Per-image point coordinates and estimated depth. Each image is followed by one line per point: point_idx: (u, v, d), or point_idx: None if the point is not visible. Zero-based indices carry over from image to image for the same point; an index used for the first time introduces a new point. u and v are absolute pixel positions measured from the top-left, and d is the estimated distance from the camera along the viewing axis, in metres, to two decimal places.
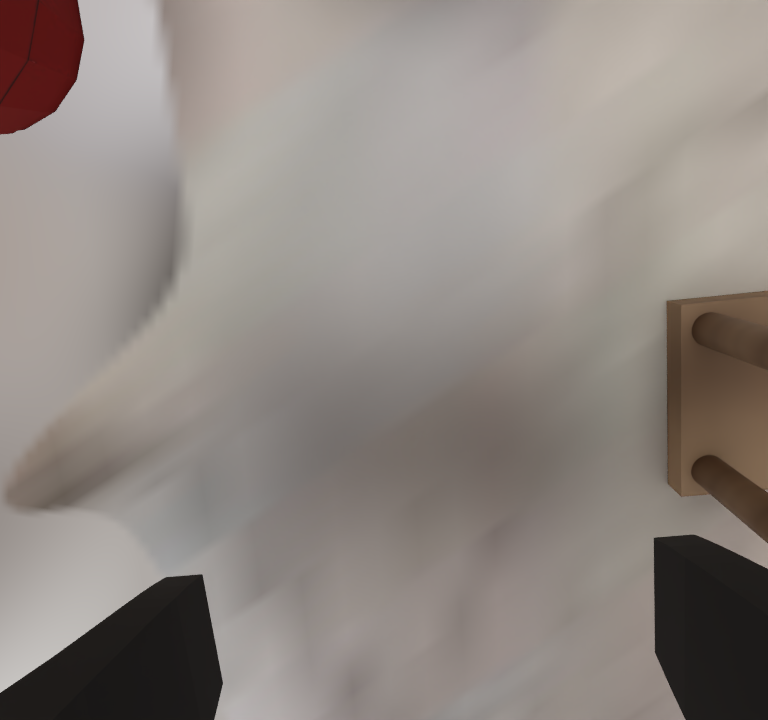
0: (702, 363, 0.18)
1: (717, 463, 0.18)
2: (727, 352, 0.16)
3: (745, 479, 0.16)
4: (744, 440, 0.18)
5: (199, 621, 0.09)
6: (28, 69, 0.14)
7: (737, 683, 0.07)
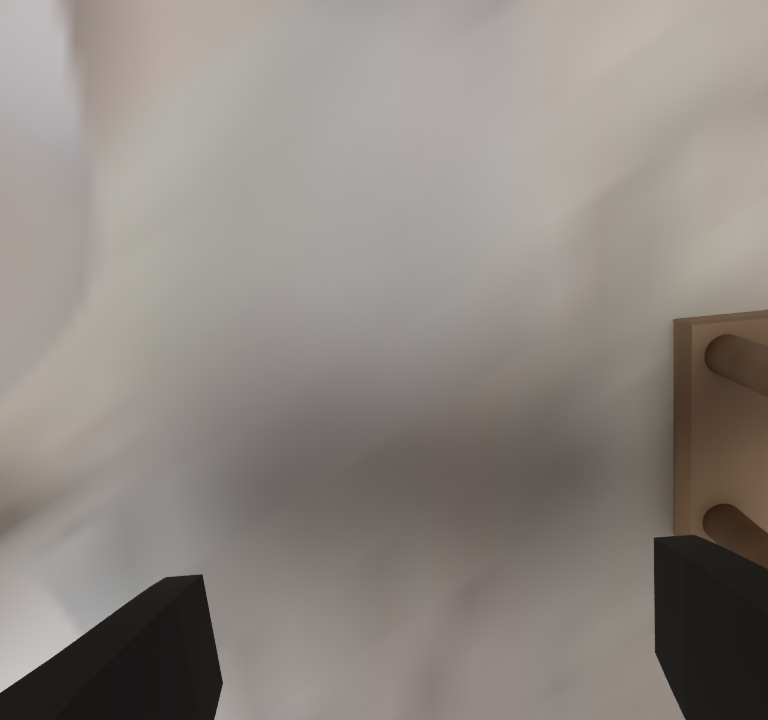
0: (717, 395, 0.15)
1: (734, 516, 0.15)
2: (750, 386, 0.13)
3: None
4: (766, 486, 0.15)
5: (200, 621, 0.09)
6: None
7: (737, 683, 0.07)
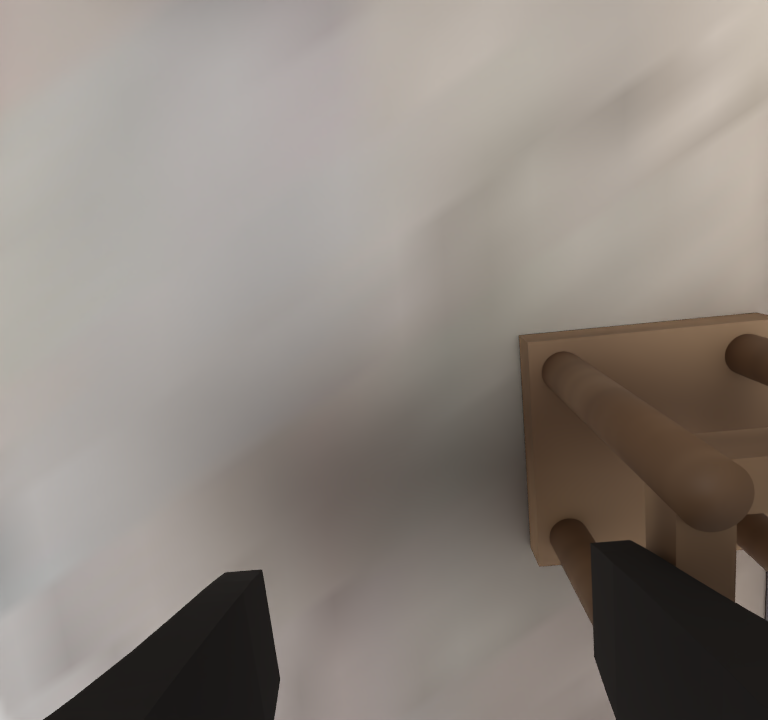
0: (556, 411, 0.15)
1: (573, 531, 0.15)
2: (567, 405, 0.13)
3: None
4: (609, 501, 0.15)
5: (260, 617, 0.09)
6: None
7: (656, 688, 0.07)
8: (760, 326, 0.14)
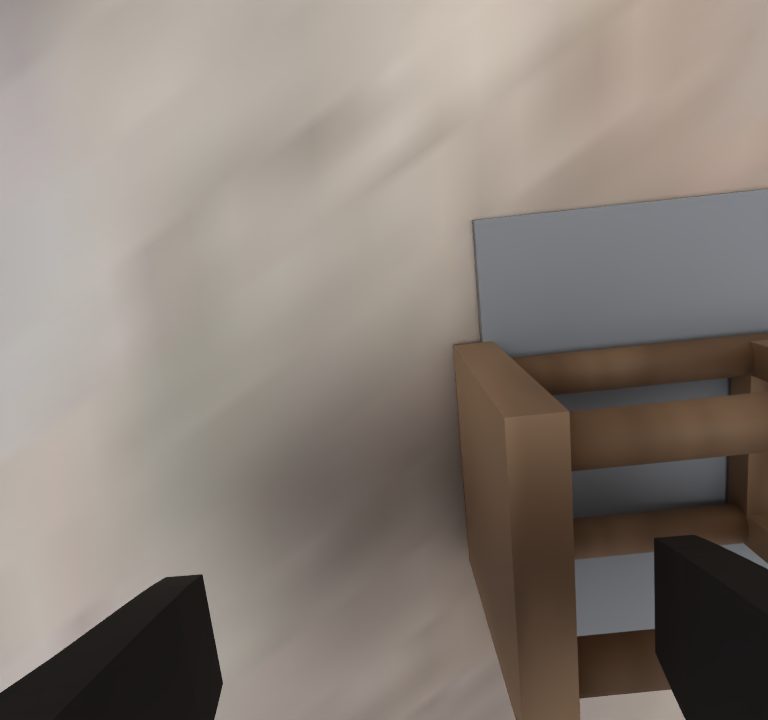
0: None
1: (599, 642, 0.11)
2: (672, 457, 0.10)
3: None
4: None
5: (199, 622, 0.09)
6: None
7: (737, 683, 0.07)
8: None
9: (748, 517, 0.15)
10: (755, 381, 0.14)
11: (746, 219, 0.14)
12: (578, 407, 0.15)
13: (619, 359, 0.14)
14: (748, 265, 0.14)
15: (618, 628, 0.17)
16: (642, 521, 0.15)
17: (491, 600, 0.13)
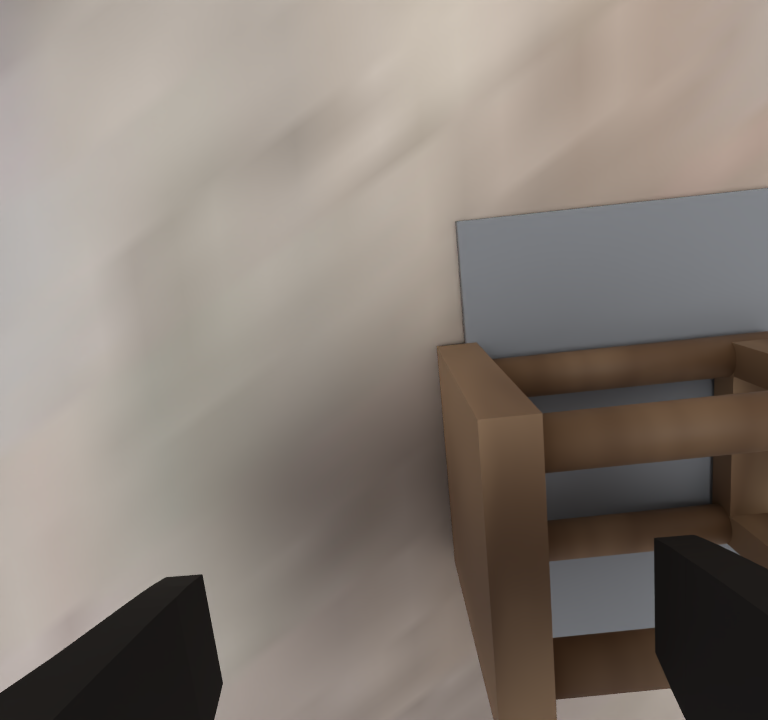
0: None
1: (577, 644, 0.11)
2: (646, 458, 0.10)
3: (636, 632, 0.11)
4: None
5: (199, 621, 0.09)
6: None
7: (737, 683, 0.07)
8: None
9: (732, 518, 0.15)
10: (737, 382, 0.14)
11: (728, 220, 0.14)
12: (562, 408, 0.15)
13: (601, 360, 0.14)
14: (731, 266, 0.14)
15: (604, 629, 0.17)
16: (626, 522, 0.15)
17: (472, 601, 0.13)
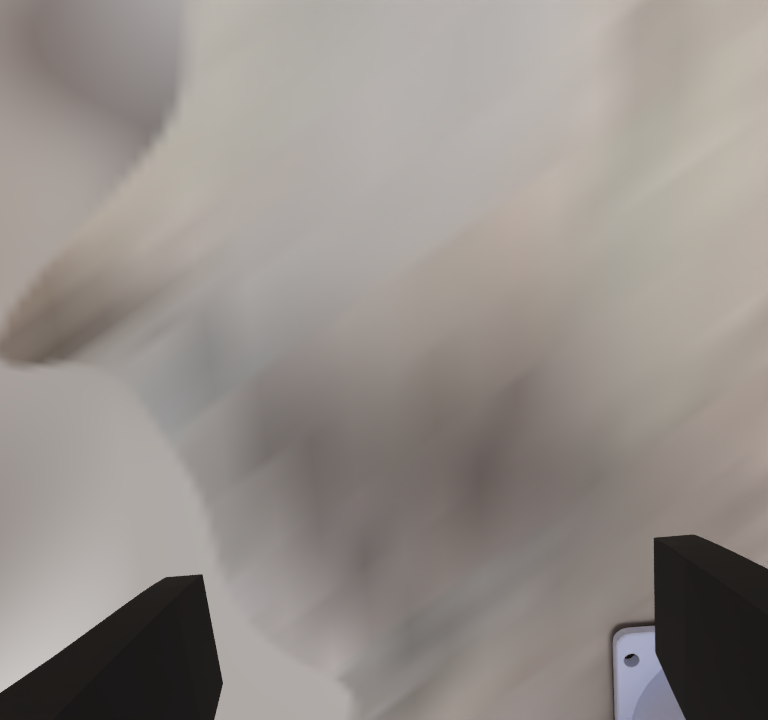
0: None
1: None
2: None
3: None
4: None
5: (199, 622, 0.09)
6: None
7: (737, 683, 0.07)
8: None
9: None
10: None
11: None
12: None
13: None
14: None
15: None
16: None
17: None
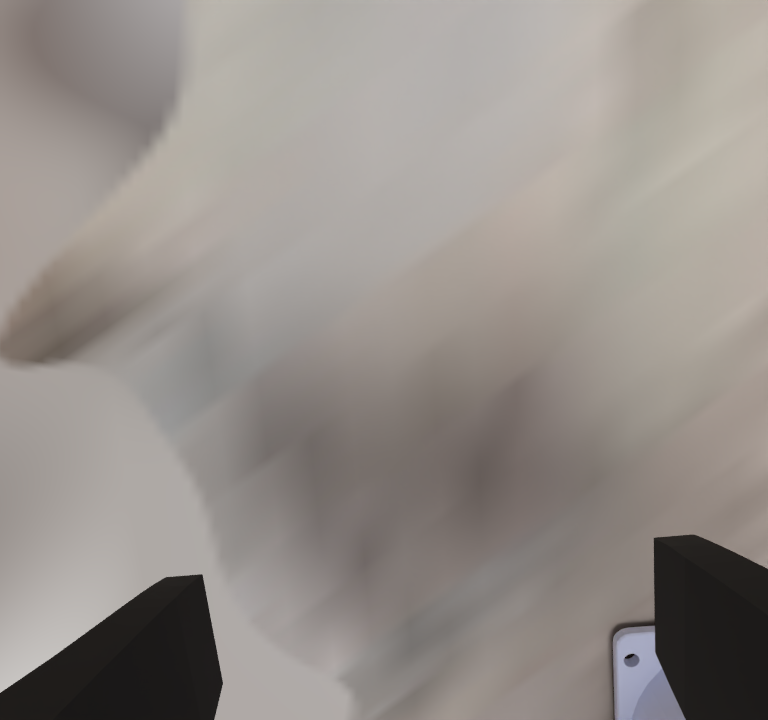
0: None
1: None
2: None
3: None
4: None
5: (200, 621, 0.09)
6: None
7: (737, 683, 0.07)
8: None
9: None
10: None
11: None
12: None
13: None
14: None
15: None
16: None
17: None
